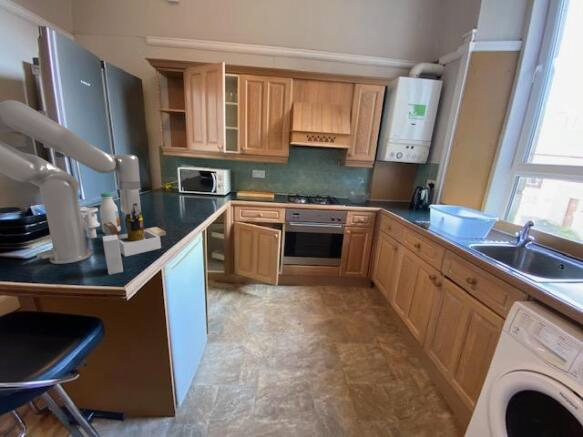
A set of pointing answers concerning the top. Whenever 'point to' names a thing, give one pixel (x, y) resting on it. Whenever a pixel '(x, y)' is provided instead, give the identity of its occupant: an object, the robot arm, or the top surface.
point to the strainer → (90, 220)
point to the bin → (139, 244)
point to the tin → (110, 229)
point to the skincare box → (112, 254)
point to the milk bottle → (109, 211)
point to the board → (156, 231)
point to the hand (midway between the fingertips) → (133, 228)
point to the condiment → (136, 234)
